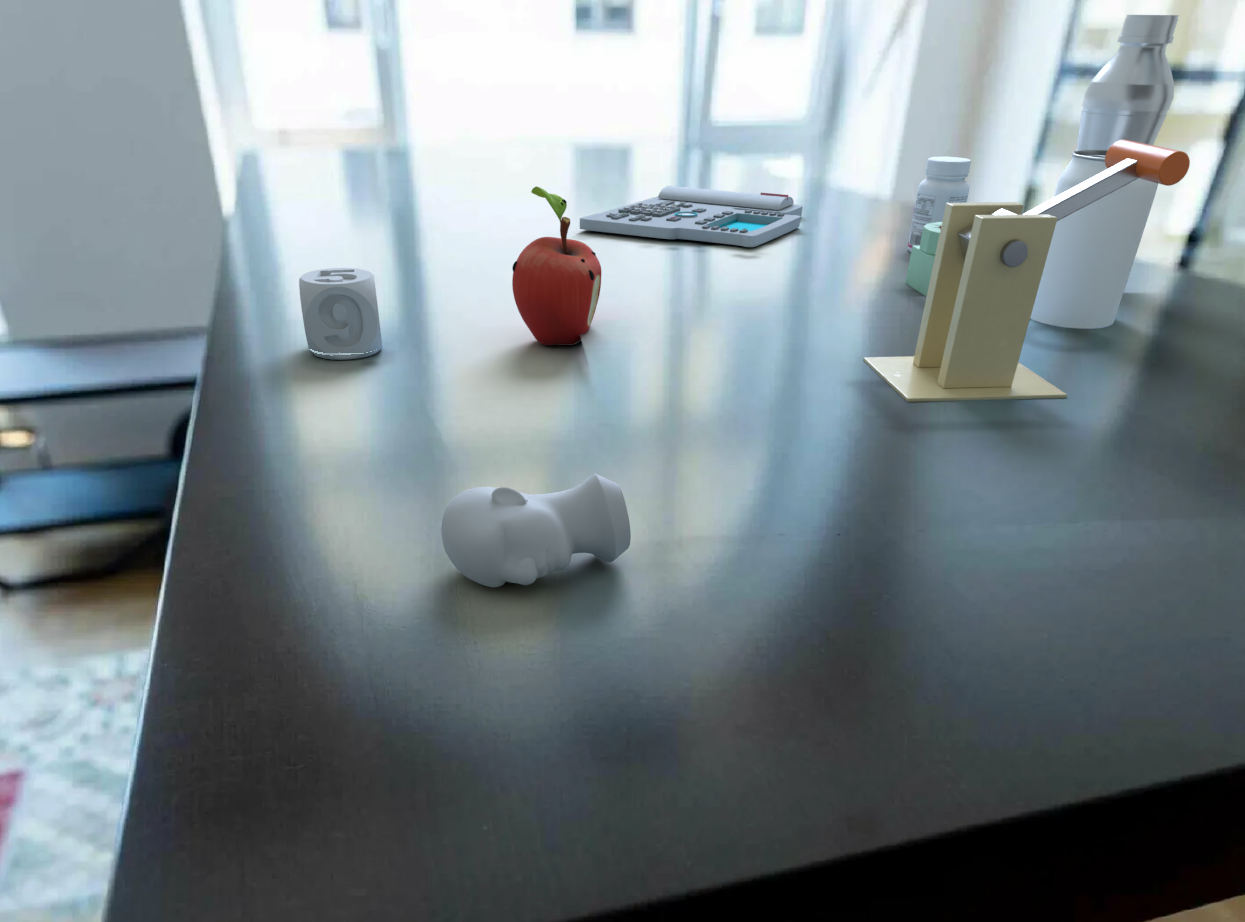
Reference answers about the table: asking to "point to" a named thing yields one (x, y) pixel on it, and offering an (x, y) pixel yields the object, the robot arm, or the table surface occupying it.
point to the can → (1092, 249)
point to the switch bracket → (977, 310)
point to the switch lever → (1110, 179)
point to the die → (340, 312)
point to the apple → (557, 283)
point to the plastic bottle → (1130, 87)
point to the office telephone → (702, 216)
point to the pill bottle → (938, 193)
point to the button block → (923, 258)
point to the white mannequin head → (533, 530)
